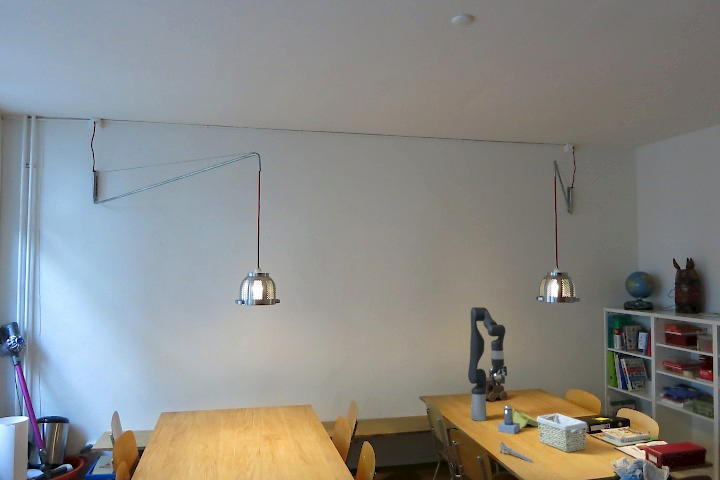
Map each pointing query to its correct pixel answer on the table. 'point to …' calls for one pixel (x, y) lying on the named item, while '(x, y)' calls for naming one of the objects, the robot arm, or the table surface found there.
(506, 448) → the caliper
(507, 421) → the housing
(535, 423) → the plastic component
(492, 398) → the wooden toy train
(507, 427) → the stand
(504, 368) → the robot arm
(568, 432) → the storage basket
